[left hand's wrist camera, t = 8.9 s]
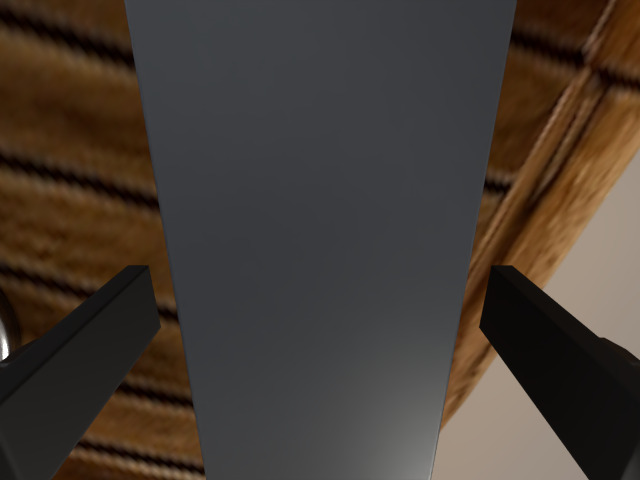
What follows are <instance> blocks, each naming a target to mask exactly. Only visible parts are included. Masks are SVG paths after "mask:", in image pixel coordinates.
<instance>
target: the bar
mask: <svg viewBox="0 0 640 480" xmlns="http://www.w3.org/2000/svg"><path fill="white" fill-rule="evenodd" d="M124 2H125V8H126V14H127V20H128V26H129V31H130V37H131V43H132V49H133V55H134V61H135V66H136V72H137V78H138V84H139V90H140V96H141V102H142V107H143V113H144V119H145V125H146V131H147V137H148V142H149V148H150V154H151V160H152V166H153V172H154V178H155V183H156V189H157V195H158V201H159V207H160V213H161V218H162V224H163V230H164V236H165V242H166V248H167V253H168V259H169V265H170V271H171V277H172V283H173V289H174V294H175V300H176V306H177V312H178V318H179V324H180V329H181V335H182V341H183V347H184V353H185V359H186V364H187V370H188V376H189V382H190V388H191V394H192V400H193V405H194V411H195V417H196V423H197V429H198V435H199V440H200V446H201V452H202V458H203V464H204V470H205V475H206V480H431V476H432V471H433V465H434V459H435V454H436V449H437V443H438V437H439V432H440V426H441V421H442V415H443V410H444V404H445V398H446V393H447V387H448V382H449V376H450V370H451V365H452V359H453V354H454V348H455V343H456V337H457V331H458V326H459V320H460V315H461V309H462V304H463V298H464V292H465V287H466V281H467V276H468V270H469V265H470V259H471V253H472V248H473V242H474V237H475V231H476V226H477V220H478V214H479V209H480V203H481V198H482V192H483V187H484V181H485V175H486V170H487V164H488V159H489V153H490V148H491V142H492V136H493V131H494V125H495V120H496V114H497V109H498V103H499V97H500V92H501V86H502V81H503V75H504V70H505V64H506V58H507V53H508V47H509V42H510V36H511V31H512V25H513V19H514V14H515V8H516V3H517V0H124Z"/></svg>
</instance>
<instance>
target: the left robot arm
mask: <svg viewBox="0 0 640 480" xmlns="http://www.w3.org/2000/svg"><path fill="white" fill-rule="evenodd" d="M160 328H161V325H160V320H159V316H158V311H157V306H156V301H155V296H154V291H153V286H152V281H151V276H150V271H149V266H148V265H128V266H127V267H126V268H124V269H123V270H122V271H121V272H120V273H118V274H117V275H116V276H115V277H113V278H112V279H111V280H110V281H109V282H107V283H106V284H105V285H104V286H103V287H101V288H100V289H99V290H98V291H97V292H95V293H94V294H93V295H92V296H90V297H89V298H88V299H87V300H86V301H84V302H83V303H82V304H81V305H80V306H78V307H77V308H76V309H75V310H74V311H72V312H71V313H70V314H69V315H68V316H66V317H65V318H64V319H63V320H61V321H60V322H59V323H58V324H57V325H55V326H54V327H53V328H52V329H51V330H49V331H48V332H47V333H46V334H45V335H43V336H42V337H41V338H40V339H35V340H33V341H31V342H29V343H27V344H26V345H24V346H22V347H21V335H20V329H19V325H18V322H17V319H16V316H15V314H14V312H13V310H12V308H11V306H10V304H9V303H8V301H7V299H6V298H5V297H4V295H3V294H2V292H1V291H0V480H51V479H52V478H53V476H54V475H55V474H56V472H57V471H58V469H59V468H60V467H61V465H62V464H63V462H64V461H65V460H66V458H67V457H68V456H69V454H70V453H71V451H72V450H73V449H74V447H75V446H76V444H77V443H78V442H79V440H80V439H81V437H82V436H83V435H84V433H85V432H86V431H87V429H88V428H89V426H90V425H91V424H92V422H93V421H94V419H95V418H96V417H97V415H98V414H99V413H100V411H101V410H102V408H103V407H104V406H105V404H106V403H107V401H108V400H109V399H110V397H111V396H112V394H113V393H114V392H115V390H116V389H117V388H118V386H119V385H120V383H121V382H122V381H123V379H124V378H125V376H126V375H127V374H128V372H129V371H130V370H131V368H132V367H133V365H134V364H135V363H136V361H137V360H138V358H139V357H140V356H141V354H142V353H143V351H144V350H145V349H146V347H147V346H148V345H149V343H150V342H151V340H152V339H153V338H154V336H155V335H156V333H157V332H158V331H159V329H160ZM479 328H480V329H481V331H482V332H483V333H484V335H485V336H486V338H487V339H488V340H489V342H490V343H491V345H492V346H493V347H494V349H495V350H496V351H497V353H498V354H499V356H500V357H501V358H502V360H503V361H504V363H505V364H506V365H507V367H508V368H509V369H510V371H511V372H512V374H513V375H514V376H515V378H516V379H517V381H518V382H519V383H520V385H521V386H522V388H523V389H524V390H525V392H526V393H527V394H528V396H529V397H530V399H531V400H532V401H533V403H534V404H535V405H536V407H537V408H538V410H539V411H540V413H541V414H542V415H543V417H544V418H545V419H546V421H547V422H548V424H549V425H550V426H551V428H552V429H553V431H554V432H555V433H556V435H557V436H558V437H559V439H560V440H561V442H562V443H563V444H564V446H565V447H566V449H567V450H568V451H569V453H570V454H571V456H572V457H573V458H574V460H575V461H576V462H577V464H578V465H579V467H580V468H581V469H582V471H583V472H584V474H585V475H586V476H587V478H588V479H589V480H640V360H639V359H638V358H636V357H635V356H634V355H633V354H631V353H630V352H629V351H627V350H626V349H624V348H623V347H621V346H619V345H617V344H615V343H613V342H611V341H610V340H608V339H606V338H599V337H598V336H597V335H595V334H594V333H593V332H592V331H590V330H589V329H588V328H587V327H586V326H585V325H583V324H582V323H581V322H580V321H578V320H577V319H576V318H575V317H574V316H572V315H571V314H570V313H569V312H568V311H566V310H565V309H564V308H563V307H562V306H560V305H559V304H558V303H557V302H556V301H554V300H553V299H552V298H551V297H550V296H548V295H547V294H546V293H545V292H543V291H542V290H541V289H540V288H539V287H537V286H536V285H535V284H534V283H533V282H531V281H530V280H529V279H528V278H527V277H525V276H524V275H523V274H522V273H520V272H519V271H518V270H517V269H516V268H514V267H513V266H512V265H492V266H491V271H490V276H489V281H488V286H487V291H486V296H485V300H484V305H483V310H482V315H481V320H480V325H479Z"/></svg>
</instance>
